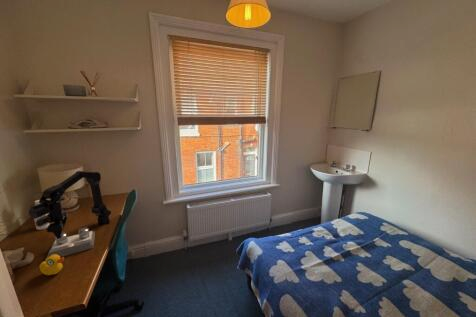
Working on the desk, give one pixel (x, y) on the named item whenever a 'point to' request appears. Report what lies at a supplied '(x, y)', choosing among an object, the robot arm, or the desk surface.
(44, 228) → the bath foam
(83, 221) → the desk surface
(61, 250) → the scale
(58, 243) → the cylinder
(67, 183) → the robot arm
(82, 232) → the cylinder
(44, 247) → the desk surface
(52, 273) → the duckling
